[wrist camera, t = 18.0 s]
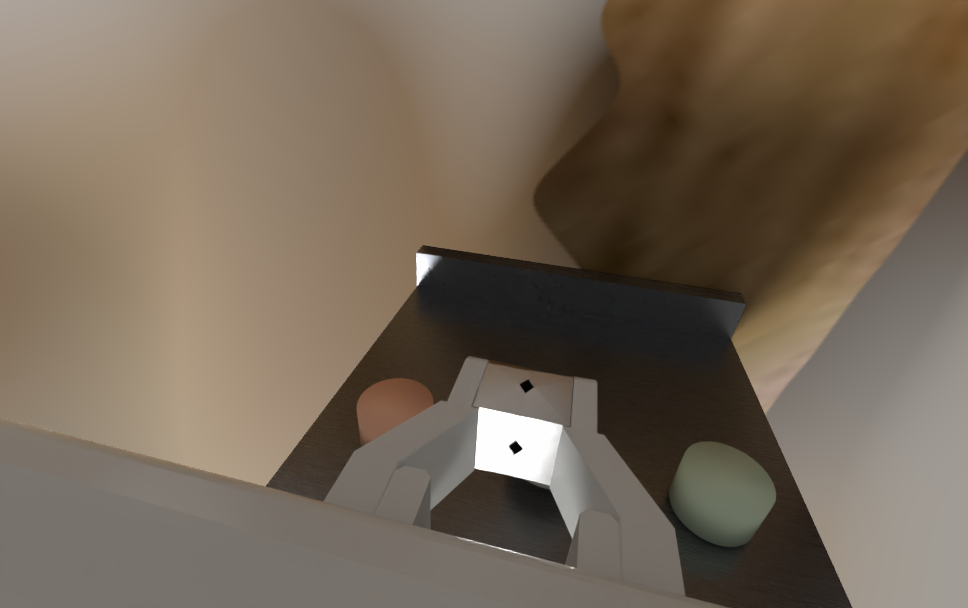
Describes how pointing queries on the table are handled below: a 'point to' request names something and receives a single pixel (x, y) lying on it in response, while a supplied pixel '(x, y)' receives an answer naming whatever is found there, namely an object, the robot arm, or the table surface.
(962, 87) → the table surface
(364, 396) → the terracotta button
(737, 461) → the sage button
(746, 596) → the button panel
